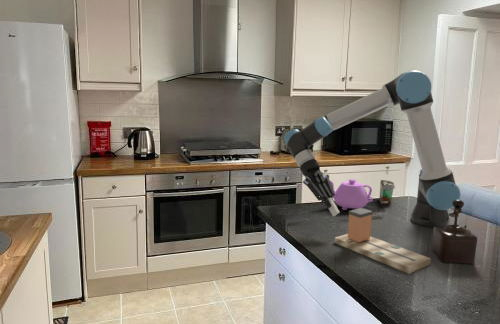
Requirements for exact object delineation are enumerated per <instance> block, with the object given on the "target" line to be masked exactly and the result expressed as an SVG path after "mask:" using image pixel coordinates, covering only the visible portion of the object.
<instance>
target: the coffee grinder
mask: <svg viewBox="0 0 500 324" xmlns="http://www.w3.org/2000/svg"><path fill="white" fill-rule="evenodd" d="M464 202H465V201H463V200H461V199H460V200H454V201H453V202H452V205H453V206H454V207H453V208H454V210H453V212H450V213H449V212H448V215H449V217H451V218H454V223H453V224H449V225H448V226H434V227H433V230H432V231H433V232H432V243H431V252H432V254H433V255H434V256H435V257H436V258H437V259H438V260H440V262H441V263H443V264H455V265H475V260H476V252H477V245H478V236H476V235H475V234H474V233H472V231H471V230H470V229H469V228H467V225H464V226H462V225H460V224H458V218H459V217H460V215H459V214H463V211H462V208H463V207H464V206H465V203H464Z"/></svg>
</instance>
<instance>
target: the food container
mask: <svg viewBox="0 0 500 324" xmlns="http://www.w3.org/2000/svg"><path fill="white" fill-rule="evenodd" d="M379 187H380V188H379V202H380V204H381V205H391V204H392V199H393V192H394V189H396V188H395V183H394V182H393V181H391V180H385V179H380V186H379Z"/></svg>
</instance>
